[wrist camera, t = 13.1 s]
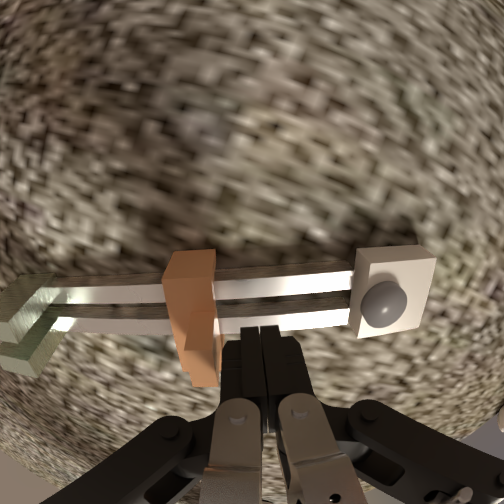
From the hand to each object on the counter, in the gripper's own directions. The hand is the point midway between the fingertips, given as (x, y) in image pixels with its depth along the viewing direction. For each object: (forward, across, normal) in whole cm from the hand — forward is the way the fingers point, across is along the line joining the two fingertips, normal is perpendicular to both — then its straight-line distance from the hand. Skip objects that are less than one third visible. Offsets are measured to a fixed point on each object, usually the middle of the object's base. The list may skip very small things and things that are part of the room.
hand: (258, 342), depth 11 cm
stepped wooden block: (+4, +3, 0) cm, 5 cm away
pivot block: (+4, -6, 0) cm, 7 cm away
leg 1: (+4, +5, -1) cm, 6 cm away
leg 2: (+4, +5, +1) cm, 6 cm away
